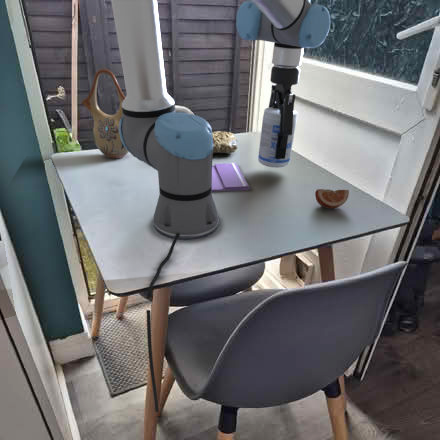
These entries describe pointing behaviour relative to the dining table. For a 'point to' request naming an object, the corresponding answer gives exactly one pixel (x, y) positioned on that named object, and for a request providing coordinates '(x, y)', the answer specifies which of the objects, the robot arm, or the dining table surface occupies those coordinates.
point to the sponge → (224, 142)
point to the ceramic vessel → (106, 121)
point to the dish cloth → (228, 178)
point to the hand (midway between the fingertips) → (275, 152)
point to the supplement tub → (273, 139)
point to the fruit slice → (331, 197)
